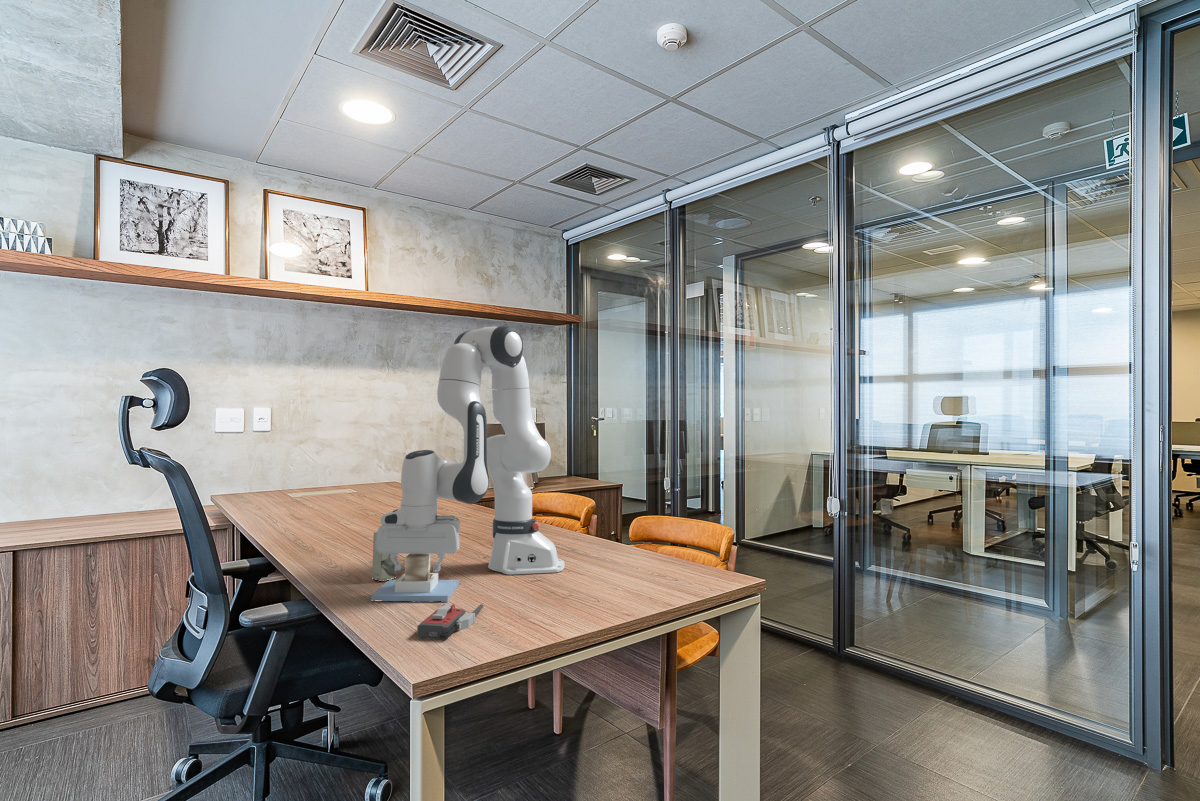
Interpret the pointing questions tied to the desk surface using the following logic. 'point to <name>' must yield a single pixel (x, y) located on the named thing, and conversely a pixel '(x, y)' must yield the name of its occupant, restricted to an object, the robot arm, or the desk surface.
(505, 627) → the desk surface
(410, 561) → the block
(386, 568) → the box
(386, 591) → the base plate
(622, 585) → the desk surface
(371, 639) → the desk surface
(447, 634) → the walkie-talkie
